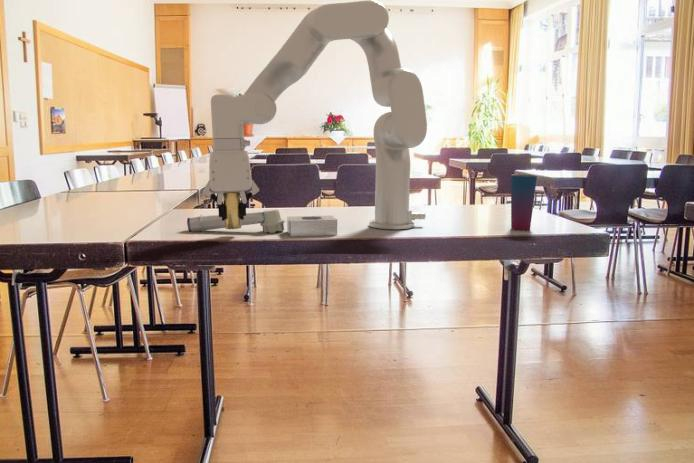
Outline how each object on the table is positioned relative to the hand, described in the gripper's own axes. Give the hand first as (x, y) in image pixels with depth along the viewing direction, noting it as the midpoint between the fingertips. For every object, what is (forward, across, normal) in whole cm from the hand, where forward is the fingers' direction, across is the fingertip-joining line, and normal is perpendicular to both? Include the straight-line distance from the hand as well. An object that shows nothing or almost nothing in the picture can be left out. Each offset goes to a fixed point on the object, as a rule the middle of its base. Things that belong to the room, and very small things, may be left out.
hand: (232, 218), depth 148 cm
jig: (+5, -20, 0) cm, 21 cm away
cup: (+7, -78, +4) cm, 79 cm away
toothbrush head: (+5, -1, -7) cm, 9 cm away
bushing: (+2, 0, 0) cm, 2 cm away
